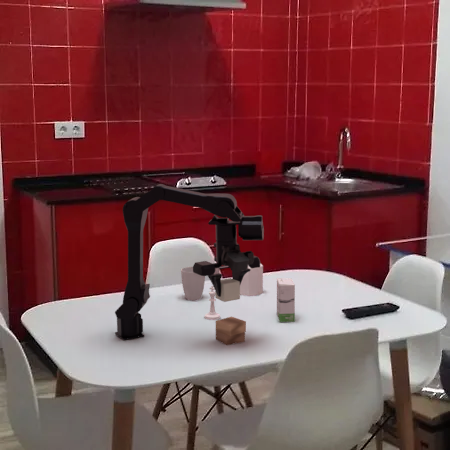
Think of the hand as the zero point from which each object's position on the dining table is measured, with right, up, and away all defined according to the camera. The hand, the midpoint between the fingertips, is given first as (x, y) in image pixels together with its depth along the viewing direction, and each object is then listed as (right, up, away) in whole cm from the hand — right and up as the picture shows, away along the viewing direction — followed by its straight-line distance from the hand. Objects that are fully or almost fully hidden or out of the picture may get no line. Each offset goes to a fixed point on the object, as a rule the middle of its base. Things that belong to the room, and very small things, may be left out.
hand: (227, 294), depth 212 cm
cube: (0, -1, 0) cm, 1 cm away
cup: (-11, -5, +44) cm, 46 cm away
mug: (+7, -4, +52) cm, 53 cm away
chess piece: (-5, -9, +23) cm, 25 cm away
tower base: (+1, -13, +2) cm, 13 cm away
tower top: (+1, -10, +1) cm, 10 cm away
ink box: (+18, -9, +22) cm, 30 cm away
